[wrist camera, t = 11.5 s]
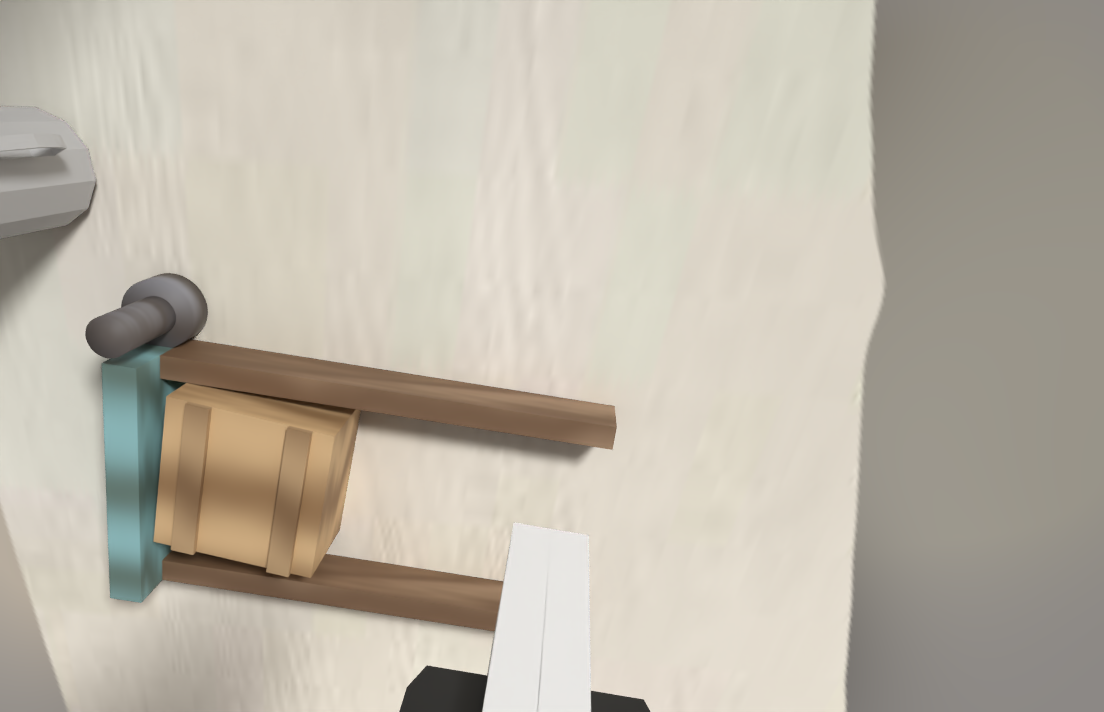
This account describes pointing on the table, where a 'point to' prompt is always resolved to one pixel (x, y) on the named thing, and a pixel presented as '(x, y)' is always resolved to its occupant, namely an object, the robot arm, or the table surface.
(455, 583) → the bay
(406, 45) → the table surface
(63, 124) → the water bottle
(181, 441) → the crate
